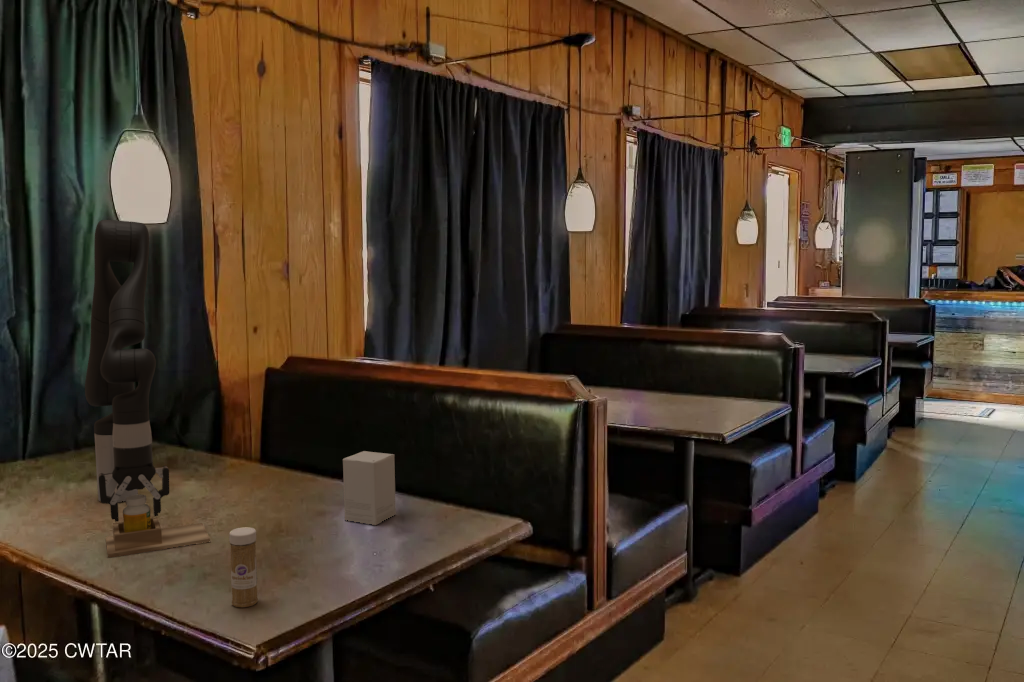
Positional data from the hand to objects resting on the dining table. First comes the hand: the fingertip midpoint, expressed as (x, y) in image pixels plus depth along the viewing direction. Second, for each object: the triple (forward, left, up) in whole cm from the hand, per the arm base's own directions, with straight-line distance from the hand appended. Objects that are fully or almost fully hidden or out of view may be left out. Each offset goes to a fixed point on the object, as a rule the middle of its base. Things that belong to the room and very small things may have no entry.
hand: (136, 517), depth 182 cm
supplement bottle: (0, 0, -5) cm, 5 cm away
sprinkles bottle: (+42, +15, -6) cm, 45 cm away
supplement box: (+6, +50, -6) cm, 51 cm away
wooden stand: (0, +4, -6) cm, 7 cm away
